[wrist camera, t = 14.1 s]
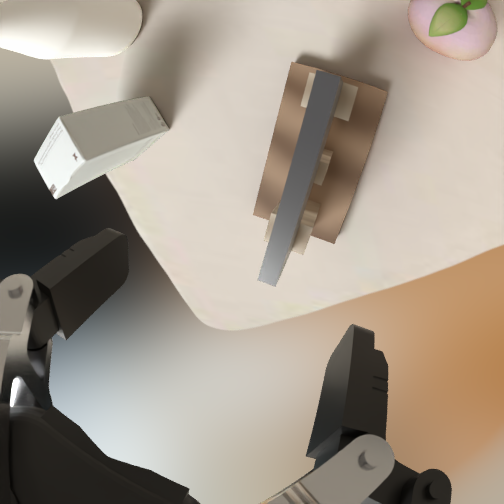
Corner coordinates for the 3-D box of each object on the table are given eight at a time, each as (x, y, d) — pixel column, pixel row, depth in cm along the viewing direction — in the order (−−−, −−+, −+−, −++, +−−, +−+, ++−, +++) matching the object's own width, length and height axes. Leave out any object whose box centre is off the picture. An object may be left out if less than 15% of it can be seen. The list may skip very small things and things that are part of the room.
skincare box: (150, 95, 33) (59, 109, 21) (172, 131, 35) (86, 159, 23) (113, 131, 37) (29, 158, 25) (133, 164, 39) (52, 202, 27)
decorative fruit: (453, 82, 22) (491, 78, 14) (389, 34, 22) (404, 8, 14) (486, 26, 17) (527, 9, 9) (425, -20, 17) (447, -56, 9)
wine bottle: (123, 67, 32) (-96, 111, 7) (87, 43, 31) (-101, 75, 7) (157, 8, 27) (-76, -4, 2) (116, -11, 26) (-80, -14, 1)
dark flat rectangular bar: (324, 77, 20) (316, 69, 15) (343, 82, 20) (340, 76, 15) (276, 245, 29) (257, 279, 24) (291, 250, 29) (275, 286, 24)
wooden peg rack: (294, 63, 27) (276, 52, 20) (386, 92, 26) (397, 89, 19) (256, 210, 37) (232, 238, 30) (335, 238, 35) (328, 274, 29)
